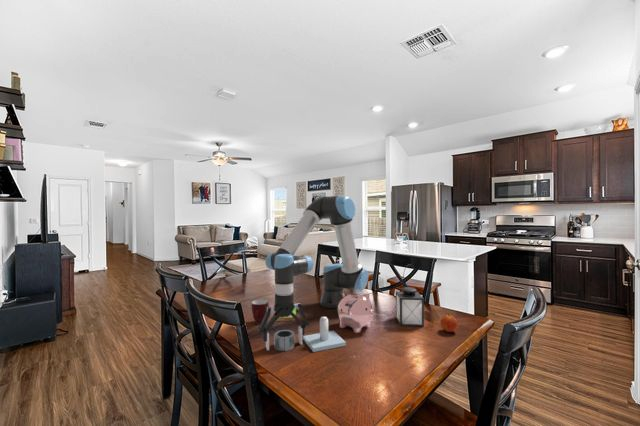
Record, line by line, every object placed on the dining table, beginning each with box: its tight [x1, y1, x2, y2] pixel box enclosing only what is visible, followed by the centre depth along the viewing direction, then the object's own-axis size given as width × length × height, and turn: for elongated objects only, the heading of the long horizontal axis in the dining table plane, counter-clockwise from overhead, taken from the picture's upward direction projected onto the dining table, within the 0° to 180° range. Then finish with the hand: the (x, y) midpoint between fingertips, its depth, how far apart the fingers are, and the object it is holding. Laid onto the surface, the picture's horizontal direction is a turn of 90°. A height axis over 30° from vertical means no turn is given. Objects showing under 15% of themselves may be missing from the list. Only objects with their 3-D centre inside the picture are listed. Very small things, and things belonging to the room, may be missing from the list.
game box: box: [275, 307, 297, 322], centre depth 155 cm, size 3×10×20 cm
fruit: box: [440, 313, 458, 333], centre depth 131 cm, size 7×7×8 cm
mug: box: [251, 299, 270, 325], centre depth 142 cm, size 11×8×10 cm
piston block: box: [302, 316, 347, 353], centre depth 121 cm, size 14×12×10 cm
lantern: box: [395, 264, 425, 327], centre depth 143 cm, size 11×11×28 cm
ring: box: [273, 329, 296, 352], centre depth 118 cm, size 8×8×5 cm
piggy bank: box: [337, 292, 375, 334], centre depth 137 cm, size 15×18×16 cm
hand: (284, 346), depth 118 cm, fingers open, 13 cm apart
